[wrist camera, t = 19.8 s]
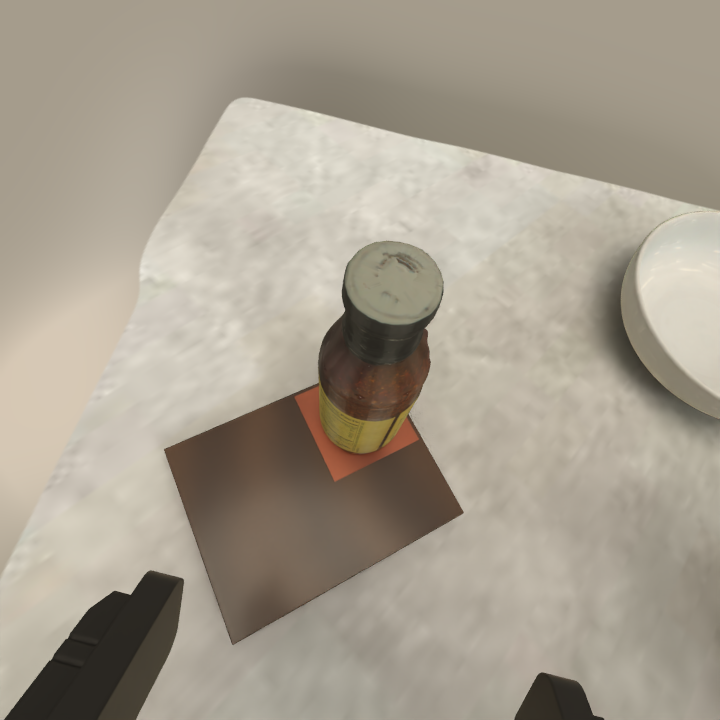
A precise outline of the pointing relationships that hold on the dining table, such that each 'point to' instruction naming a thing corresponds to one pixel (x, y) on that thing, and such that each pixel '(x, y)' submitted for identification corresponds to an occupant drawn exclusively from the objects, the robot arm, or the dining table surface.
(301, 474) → the walnut board
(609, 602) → the dining table surface
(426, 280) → the sauce bottle
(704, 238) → the serving bowl
